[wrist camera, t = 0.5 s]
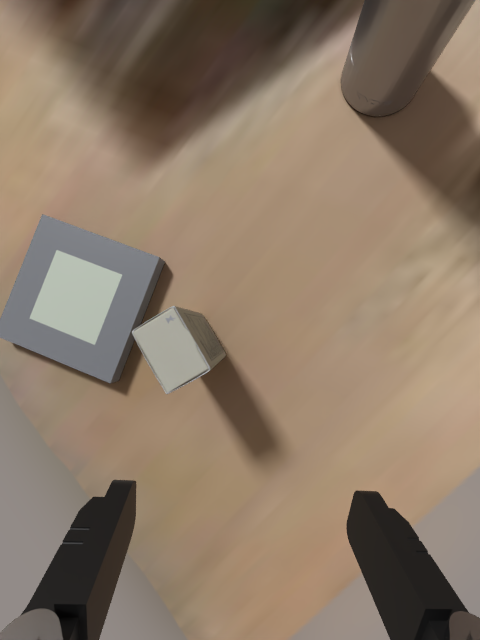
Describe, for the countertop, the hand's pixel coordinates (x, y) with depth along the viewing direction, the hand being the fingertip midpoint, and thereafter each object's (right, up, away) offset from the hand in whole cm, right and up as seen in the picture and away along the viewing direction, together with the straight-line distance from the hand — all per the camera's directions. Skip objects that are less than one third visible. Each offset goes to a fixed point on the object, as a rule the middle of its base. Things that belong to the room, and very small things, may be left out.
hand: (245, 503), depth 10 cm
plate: (-20, +9, +26) cm, 34 cm away
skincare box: (-5, +4, +25) cm, 26 cm away
